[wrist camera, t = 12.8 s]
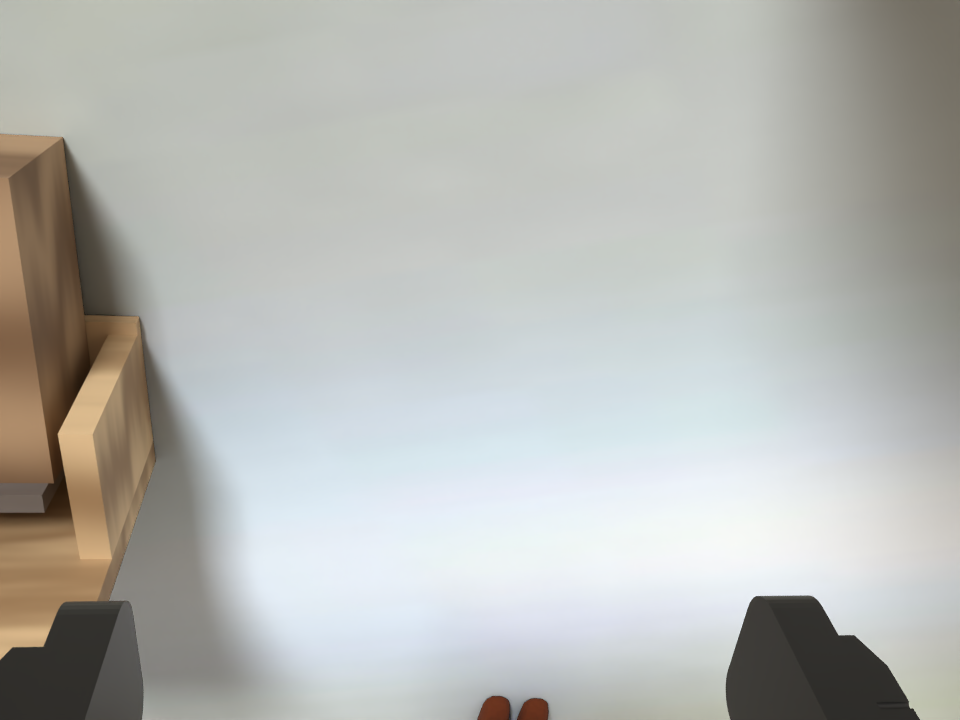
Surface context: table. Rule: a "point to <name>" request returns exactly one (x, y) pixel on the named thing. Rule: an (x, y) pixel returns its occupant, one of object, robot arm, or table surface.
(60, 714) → the robot arm
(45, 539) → the wooden chair
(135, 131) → the table surface
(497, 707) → the toy
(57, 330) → the light brown wooden block
